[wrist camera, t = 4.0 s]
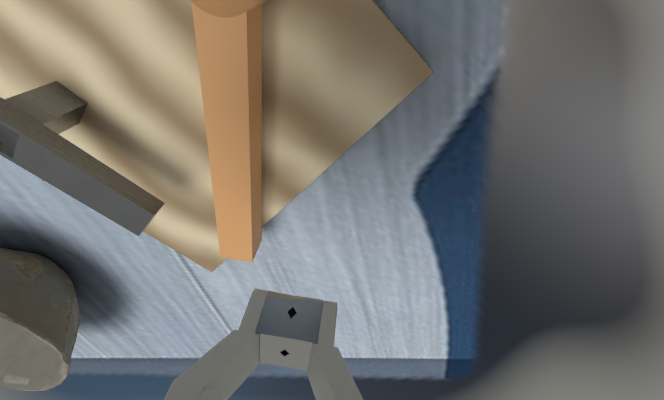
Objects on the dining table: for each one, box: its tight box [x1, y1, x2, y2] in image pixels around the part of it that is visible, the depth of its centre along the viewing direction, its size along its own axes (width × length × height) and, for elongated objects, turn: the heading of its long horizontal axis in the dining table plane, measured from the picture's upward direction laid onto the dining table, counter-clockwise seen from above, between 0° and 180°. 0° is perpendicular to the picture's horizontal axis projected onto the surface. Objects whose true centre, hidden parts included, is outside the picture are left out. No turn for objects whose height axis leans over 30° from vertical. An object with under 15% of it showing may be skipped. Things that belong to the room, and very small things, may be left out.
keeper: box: [0, 81, 165, 236], centre depth 25 cm, size 3×12×8 cm, turn 47°
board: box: [0, 0, 433, 272], centre depth 25 cm, size 30×24×2 cm
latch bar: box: [190, 0, 268, 262], centre depth 22 cm, size 24×5×5 cm, turn 172°
